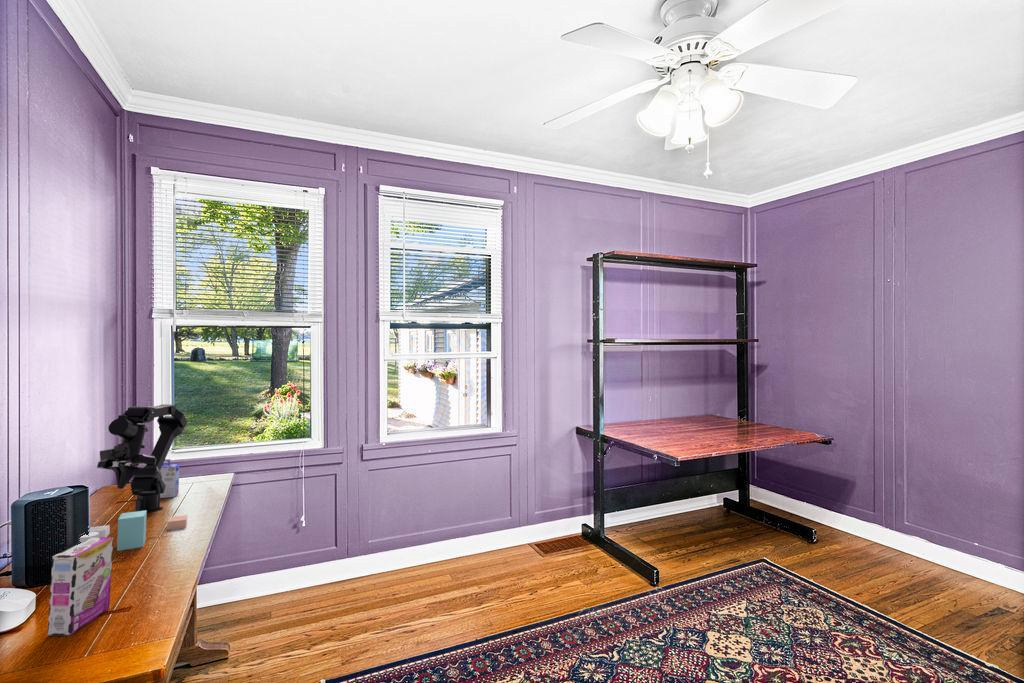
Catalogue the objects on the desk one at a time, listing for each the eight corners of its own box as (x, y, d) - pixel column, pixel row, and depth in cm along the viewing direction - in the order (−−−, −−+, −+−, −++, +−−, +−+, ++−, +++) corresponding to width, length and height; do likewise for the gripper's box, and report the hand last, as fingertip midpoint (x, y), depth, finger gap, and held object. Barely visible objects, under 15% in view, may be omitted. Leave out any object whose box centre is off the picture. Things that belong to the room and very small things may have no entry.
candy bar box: (72, 636, 101) (75, 556, 102) (46, 637, 101) (49, 556, 101) (111, 608, 112) (114, 536, 113) (88, 608, 112) (91, 536, 112)
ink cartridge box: (179, 493, 201) (180, 458, 201) (175, 497, 196) (177, 460, 196) (150, 495, 197) (151, 459, 198) (145, 499, 192) (147, 462, 192)
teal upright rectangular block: (120, 543, 146) (121, 513, 146) (145, 540, 149) (146, 510, 149) (116, 550, 140) (118, 519, 141) (142, 547, 144) (144, 516, 144)
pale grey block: (88, 540, 151) (89, 527, 151) (109, 537, 154) (109, 525, 154) (83, 546, 147) (84, 532, 147) (104, 543, 149) (105, 530, 149)
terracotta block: (169, 529, 162) (169, 517, 162) (187, 527, 164) (187, 515, 164) (167, 534, 157) (167, 521, 157) (185, 531, 160) (186, 519, 160)
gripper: (87, 440, 163) (73, 488, 157) (130, 434, 159) (117, 483, 153) (120, 446, 173) (108, 492, 167) (162, 440, 169) (151, 487, 163)
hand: (120, 488), depth 162 cm, fingers closed
